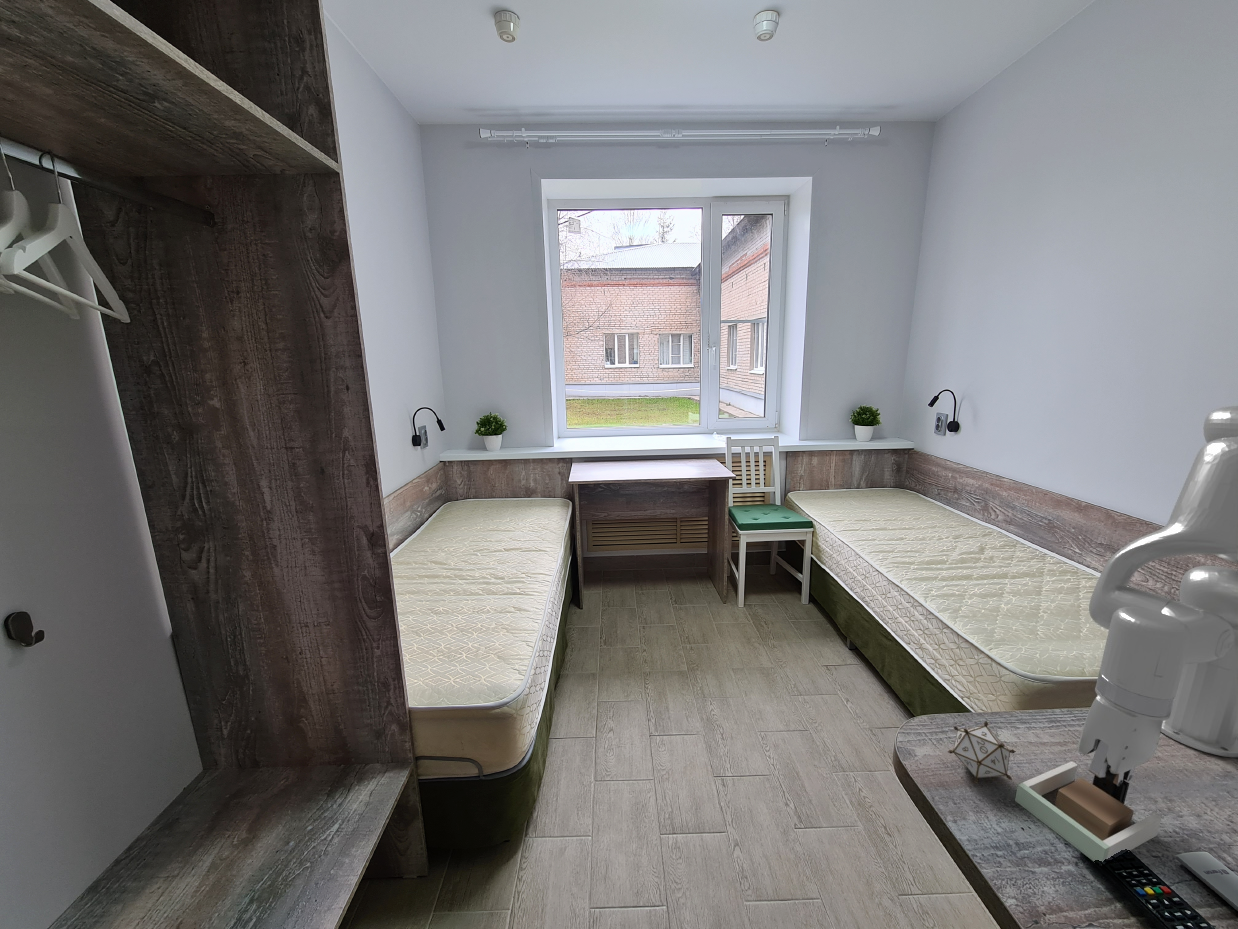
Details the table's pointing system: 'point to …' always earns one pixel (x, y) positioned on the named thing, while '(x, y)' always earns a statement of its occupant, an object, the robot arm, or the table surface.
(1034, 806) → the walled bay
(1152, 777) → the table surface
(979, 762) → the game die
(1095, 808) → the walnut block
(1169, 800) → the table surface
